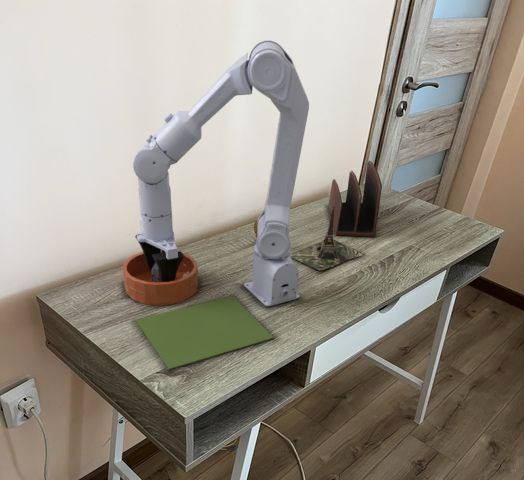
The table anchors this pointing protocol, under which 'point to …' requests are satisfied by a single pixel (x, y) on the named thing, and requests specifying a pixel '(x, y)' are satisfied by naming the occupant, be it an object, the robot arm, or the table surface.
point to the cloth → (202, 331)
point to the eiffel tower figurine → (326, 251)
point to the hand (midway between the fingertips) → (161, 276)
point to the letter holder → (357, 205)
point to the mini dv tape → (156, 273)
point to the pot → (161, 292)
